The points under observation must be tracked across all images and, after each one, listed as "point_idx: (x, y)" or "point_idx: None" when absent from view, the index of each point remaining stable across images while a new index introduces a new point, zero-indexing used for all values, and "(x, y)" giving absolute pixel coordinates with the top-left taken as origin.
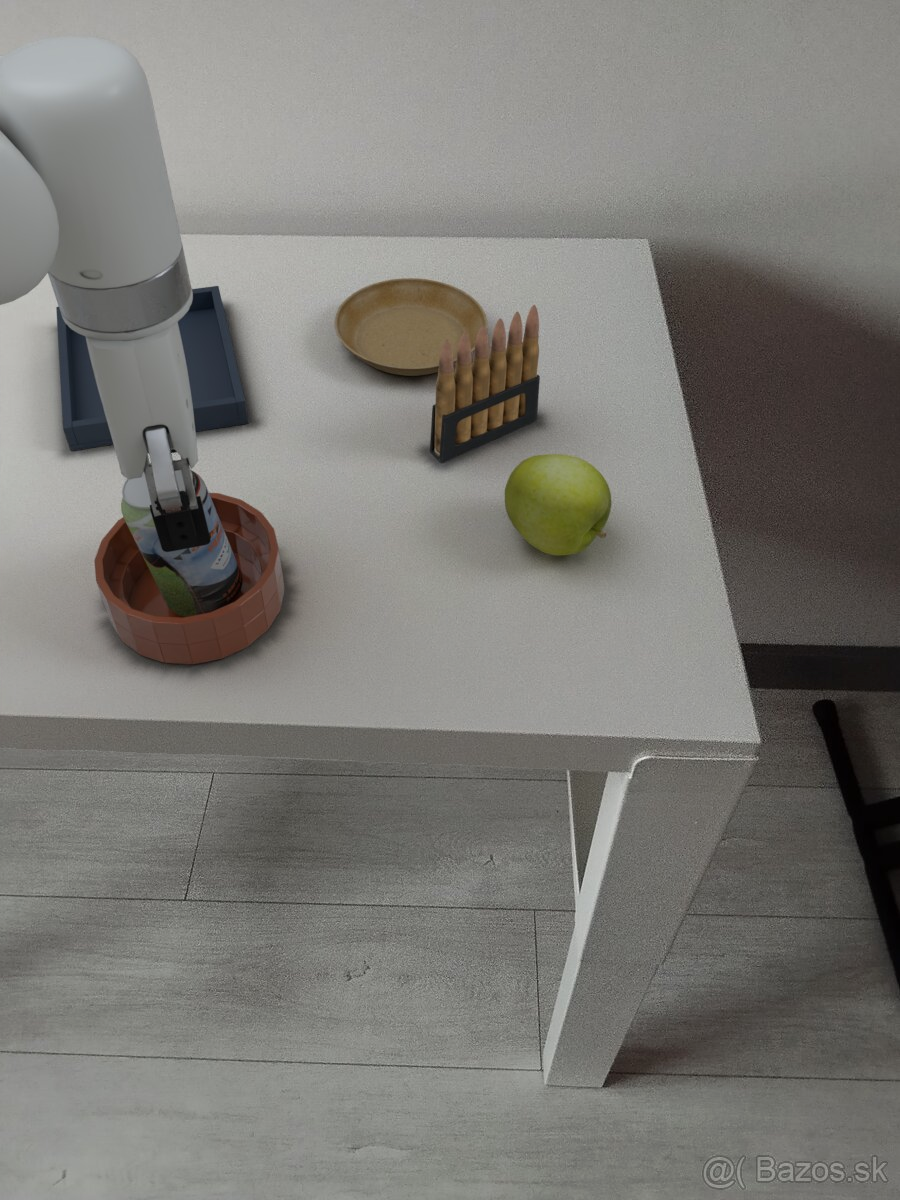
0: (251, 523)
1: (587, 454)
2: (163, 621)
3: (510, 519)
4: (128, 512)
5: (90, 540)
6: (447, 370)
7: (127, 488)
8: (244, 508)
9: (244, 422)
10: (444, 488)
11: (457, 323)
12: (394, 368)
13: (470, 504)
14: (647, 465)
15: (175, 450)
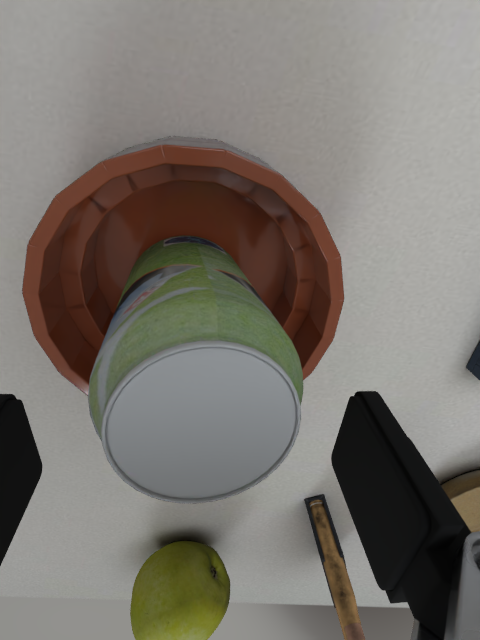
0: None
1: (266, 567)
2: (29, 263)
3: (183, 558)
4: (148, 335)
5: (374, 126)
6: (346, 632)
7: (225, 356)
8: None
9: (469, 365)
10: (272, 496)
11: None
12: None
13: (244, 508)
14: (239, 589)
15: (339, 439)
